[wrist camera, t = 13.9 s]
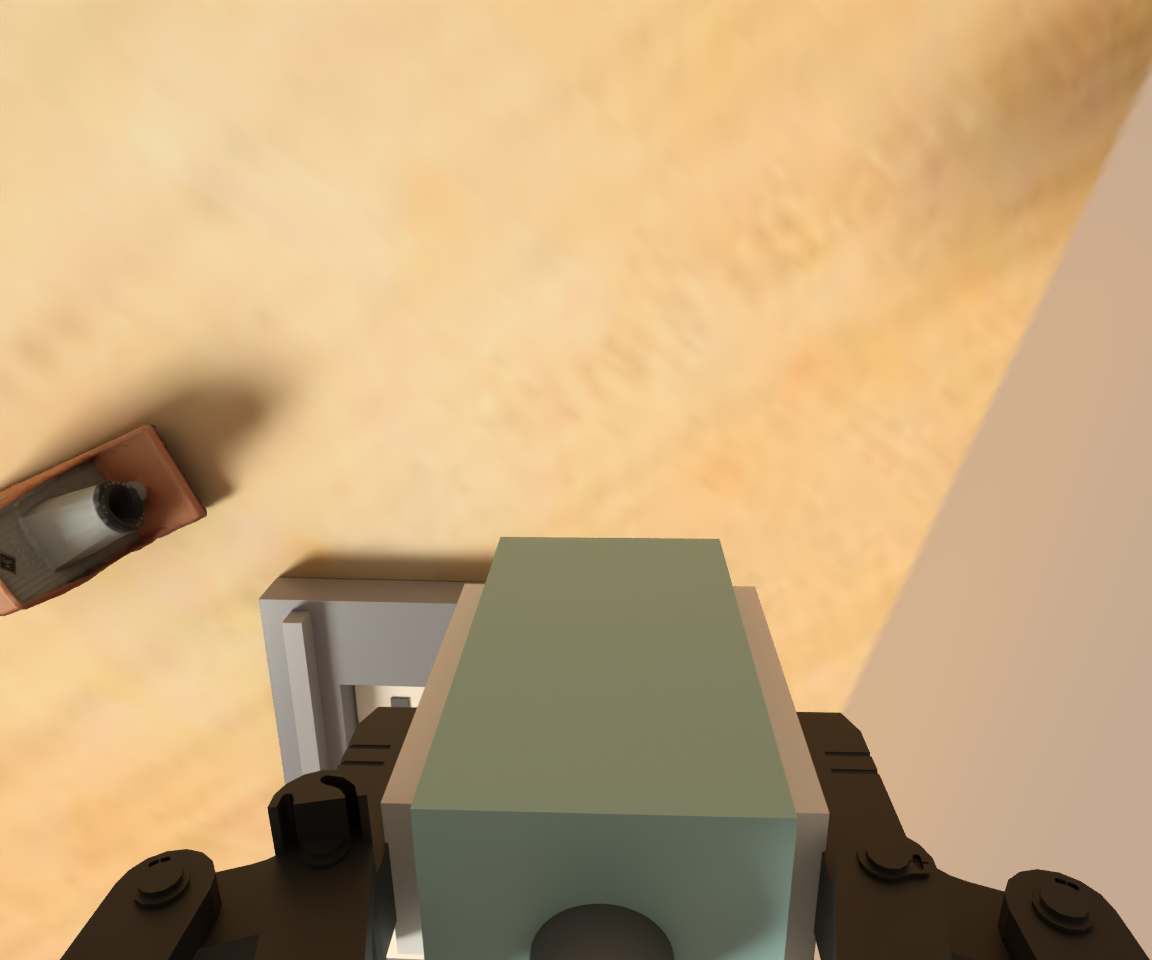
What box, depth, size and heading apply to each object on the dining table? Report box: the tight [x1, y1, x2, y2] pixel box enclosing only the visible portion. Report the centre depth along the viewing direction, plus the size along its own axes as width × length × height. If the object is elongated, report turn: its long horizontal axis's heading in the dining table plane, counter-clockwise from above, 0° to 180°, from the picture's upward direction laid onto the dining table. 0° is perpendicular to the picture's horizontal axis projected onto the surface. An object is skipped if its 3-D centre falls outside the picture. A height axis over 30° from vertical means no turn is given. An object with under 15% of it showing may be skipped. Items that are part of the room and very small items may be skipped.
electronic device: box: [0, 424, 207, 616], centre depth 32 cm, size 4×10×8 cm, turn 115°
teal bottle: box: [410, 537, 798, 960], centre depth 14 cm, size 4×4×10 cm
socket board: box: [259, 578, 485, 960], centre depth 38 cm, size 20×12×3 cm, turn 0°
